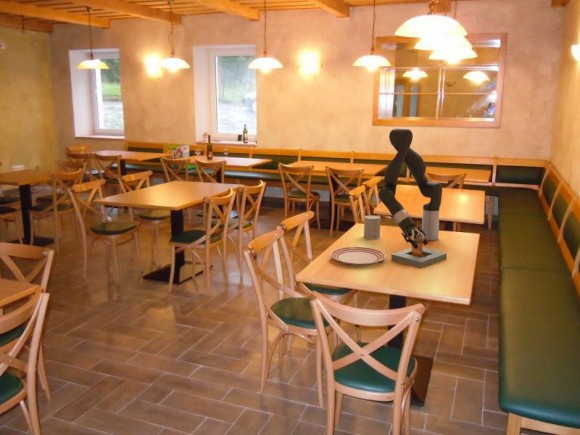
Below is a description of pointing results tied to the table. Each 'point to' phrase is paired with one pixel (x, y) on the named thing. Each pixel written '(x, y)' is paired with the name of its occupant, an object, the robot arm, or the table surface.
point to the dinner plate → (358, 255)
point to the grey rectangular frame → (427, 259)
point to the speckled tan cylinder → (372, 227)
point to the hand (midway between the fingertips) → (421, 246)
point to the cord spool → (418, 251)
